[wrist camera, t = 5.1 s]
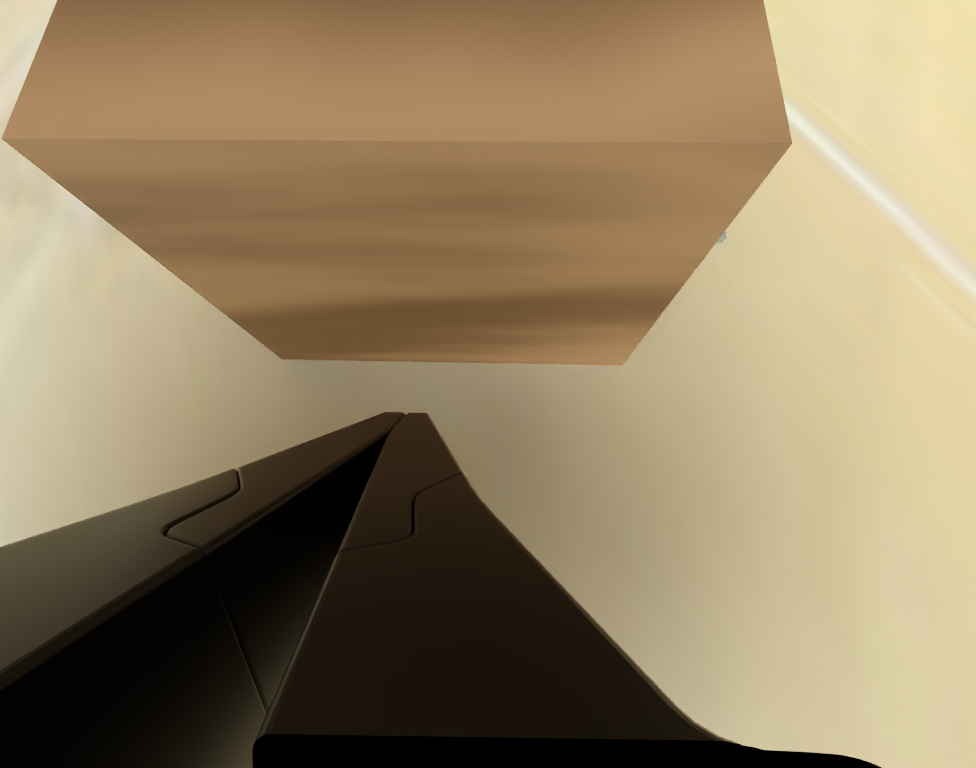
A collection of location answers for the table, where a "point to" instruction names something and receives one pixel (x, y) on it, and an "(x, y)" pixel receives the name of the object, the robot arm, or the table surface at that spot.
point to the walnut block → (414, 161)
